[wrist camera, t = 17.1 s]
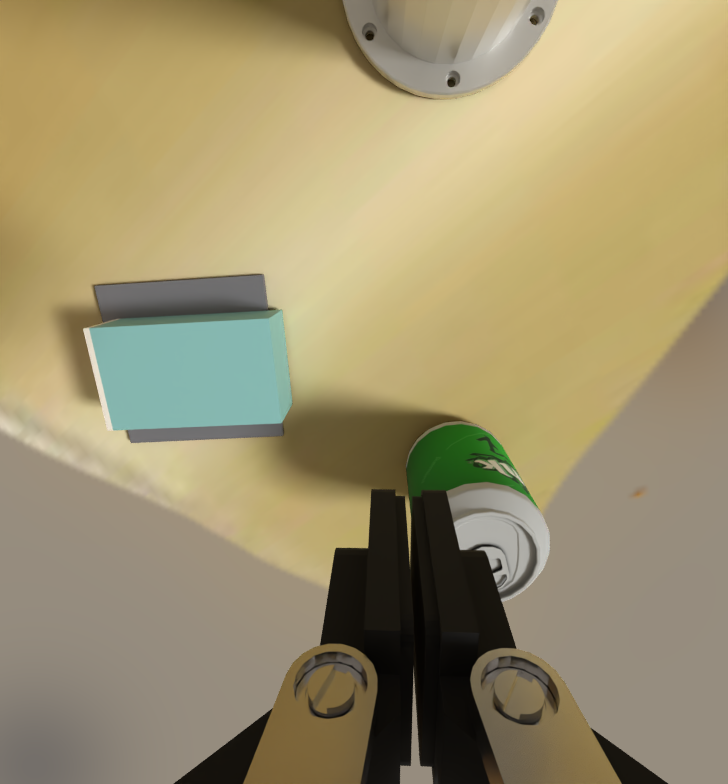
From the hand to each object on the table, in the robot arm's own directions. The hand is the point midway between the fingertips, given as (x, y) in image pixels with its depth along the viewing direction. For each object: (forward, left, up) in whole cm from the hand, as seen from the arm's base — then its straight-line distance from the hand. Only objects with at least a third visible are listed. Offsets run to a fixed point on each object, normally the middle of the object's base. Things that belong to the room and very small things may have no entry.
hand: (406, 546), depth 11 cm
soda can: (+10, +4, -25) cm, 27 cm away
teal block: (+1, -8, -22) cm, 23 cm away
